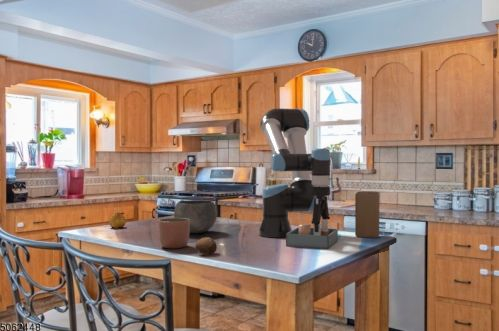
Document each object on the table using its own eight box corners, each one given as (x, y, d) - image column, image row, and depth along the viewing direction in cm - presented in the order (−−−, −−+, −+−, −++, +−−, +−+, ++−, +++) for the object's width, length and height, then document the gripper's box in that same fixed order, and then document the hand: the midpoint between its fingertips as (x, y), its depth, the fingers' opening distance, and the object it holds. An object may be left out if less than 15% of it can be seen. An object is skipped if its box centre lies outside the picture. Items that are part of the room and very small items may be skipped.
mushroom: (195, 242, 170) (200, 230, 167) (214, 250, 171) (220, 238, 168) (190, 256, 163) (196, 244, 160) (210, 264, 164) (216, 252, 161)
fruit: (122, 224, 225) (123, 210, 229) (106, 226, 225) (107, 211, 229) (126, 230, 232) (128, 216, 236) (111, 232, 232) (112, 218, 236)
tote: (286, 246, 179) (285, 233, 179) (298, 238, 197) (298, 227, 197) (328, 249, 173) (328, 236, 173) (337, 240, 191) (337, 229, 191)
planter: (175, 251, 170) (175, 222, 170) (152, 247, 177) (151, 220, 177) (196, 245, 181) (196, 219, 180) (173, 243, 187) (173, 217, 187)
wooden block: (379, 235, 205) (379, 191, 205) (378, 238, 196) (378, 193, 195) (357, 233, 208) (357, 191, 208) (355, 237, 199) (355, 192, 199)
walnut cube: (314, 243, 182) (314, 231, 182) (317, 241, 187) (317, 229, 187) (326, 244, 180) (326, 231, 180) (329, 241, 185) (329, 229, 185)
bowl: (165, 234, 208) (165, 202, 208) (188, 228, 227) (187, 199, 227) (204, 237, 200) (204, 204, 200) (224, 230, 219) (223, 200, 219)
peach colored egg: (297, 242, 185) (297, 225, 185) (300, 240, 190) (300, 223, 189) (308, 242, 183) (308, 225, 183) (312, 240, 188) (312, 224, 187)
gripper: (323, 187, 170) (323, 243, 171) (335, 184, 194) (335, 233, 194) (304, 187, 173) (304, 241, 173) (318, 184, 196) (318, 232, 197)
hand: (320, 237), depth 184 cm, fingers open, 13 cm apart
